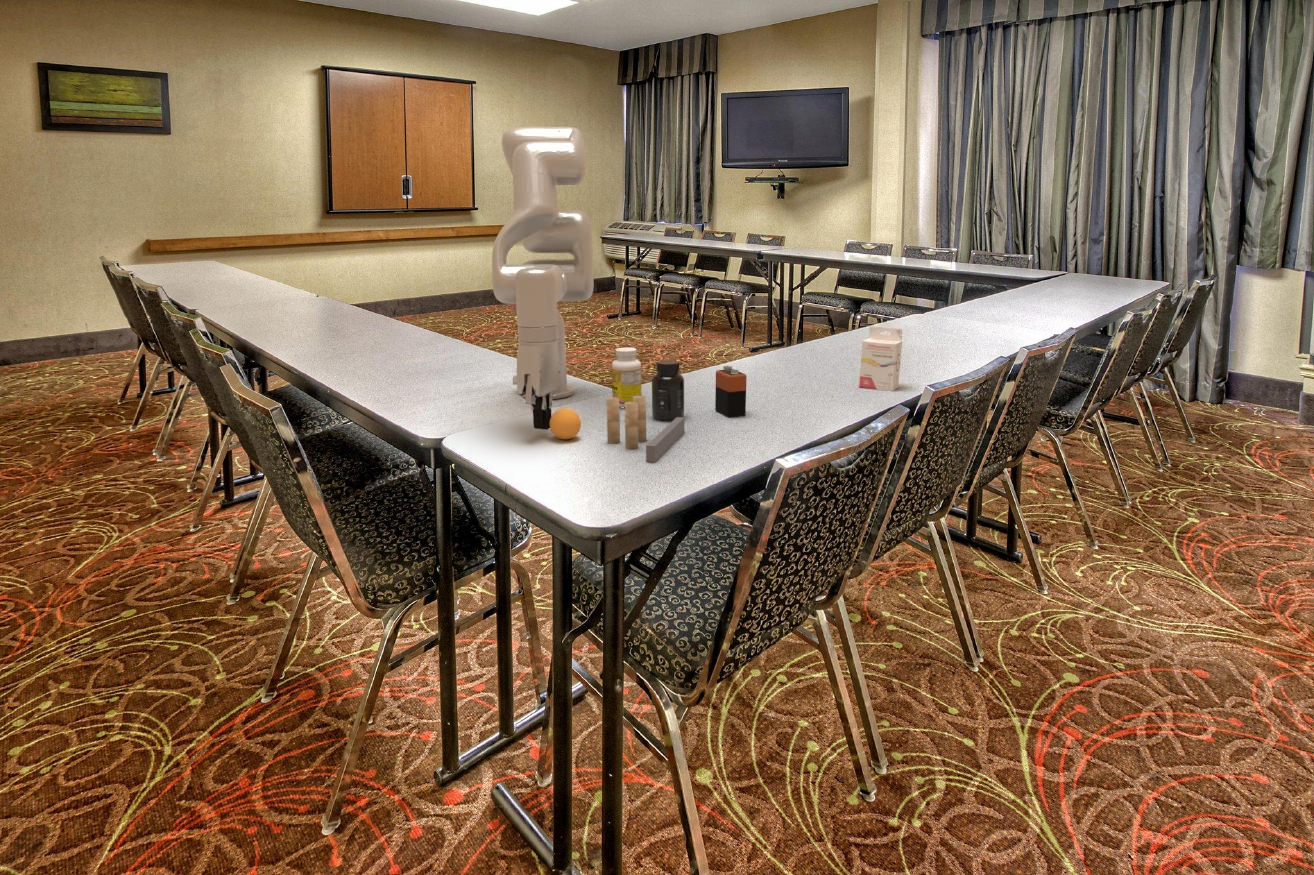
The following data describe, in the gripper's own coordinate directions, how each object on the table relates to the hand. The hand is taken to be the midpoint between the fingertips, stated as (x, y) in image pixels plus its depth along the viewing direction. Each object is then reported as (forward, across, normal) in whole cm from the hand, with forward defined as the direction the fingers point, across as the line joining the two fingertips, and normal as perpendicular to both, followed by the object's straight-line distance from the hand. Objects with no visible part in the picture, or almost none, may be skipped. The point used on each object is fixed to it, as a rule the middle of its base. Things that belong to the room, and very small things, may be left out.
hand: (542, 427), depth 153 cm
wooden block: (+2, -1, +15) cm, 15 cm away
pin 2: (+2, -3, +19) cm, 19 cm away
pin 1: (+2, +2, +19) cm, 19 cm away
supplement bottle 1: (+2, -28, +7) cm, 29 cm away
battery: (+2, -28, +31) cm, 42 cm away
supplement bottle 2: (+2, -21, +19) cm, 28 cm away
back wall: (+2, -1, +25) cm, 25 cm away
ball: (-1, 0, +5) cm, 5 cm away
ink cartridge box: (+2, -63, +60) cm, 87 cm away
